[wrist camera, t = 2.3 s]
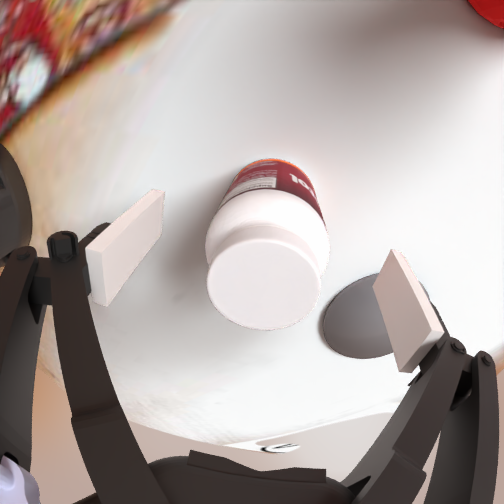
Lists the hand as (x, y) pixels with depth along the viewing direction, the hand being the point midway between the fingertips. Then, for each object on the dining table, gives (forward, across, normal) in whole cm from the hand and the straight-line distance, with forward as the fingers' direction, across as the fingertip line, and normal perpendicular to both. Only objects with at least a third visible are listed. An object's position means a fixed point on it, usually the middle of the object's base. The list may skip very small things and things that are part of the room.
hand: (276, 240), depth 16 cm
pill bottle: (+6, -1, 0) cm, 6 cm away
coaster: (+7, +12, -9) cm, 17 cm away
